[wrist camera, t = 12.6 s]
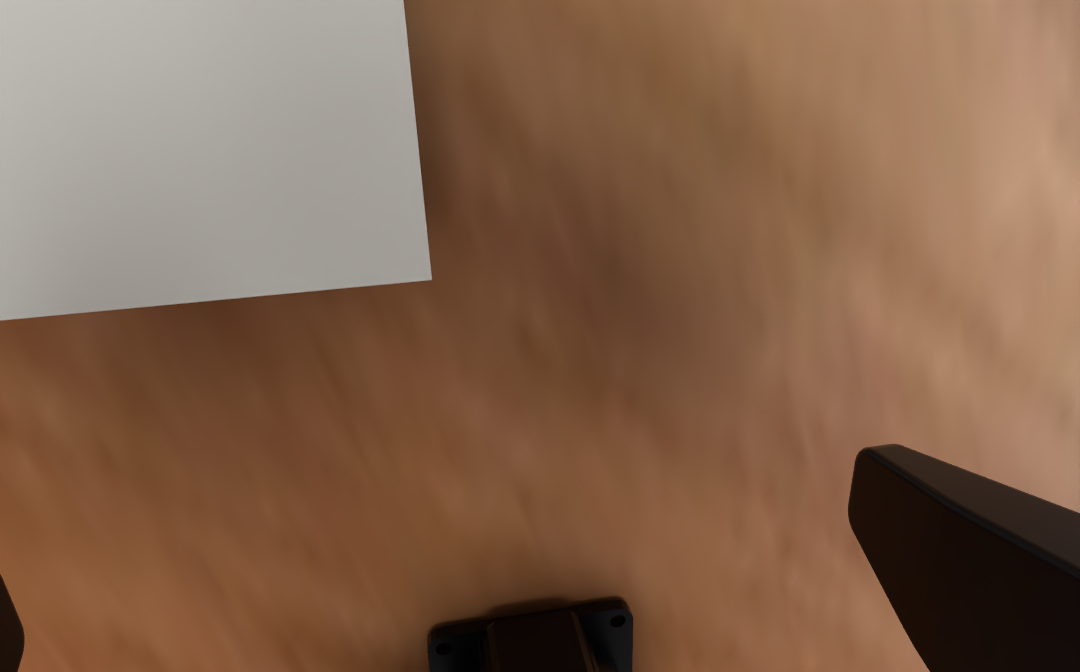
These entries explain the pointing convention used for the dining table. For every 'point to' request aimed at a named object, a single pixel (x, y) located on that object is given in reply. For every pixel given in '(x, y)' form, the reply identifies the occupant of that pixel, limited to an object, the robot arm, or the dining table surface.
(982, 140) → the dining table surface
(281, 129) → the socket block
